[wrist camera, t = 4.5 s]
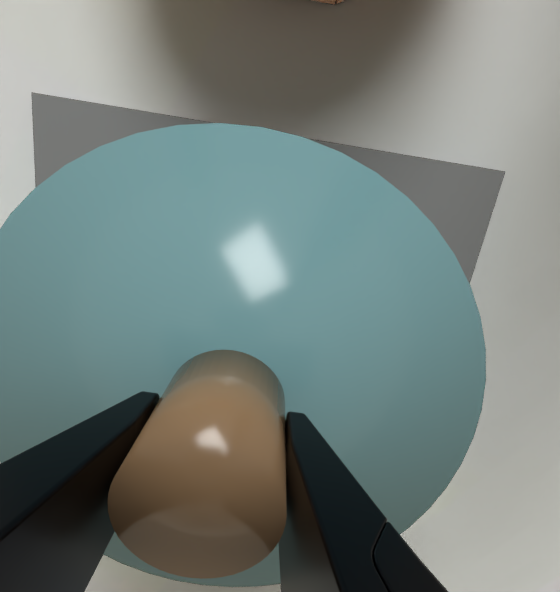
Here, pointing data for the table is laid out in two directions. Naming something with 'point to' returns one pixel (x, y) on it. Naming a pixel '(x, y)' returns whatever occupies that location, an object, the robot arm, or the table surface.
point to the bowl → (330, 1)
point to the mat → (391, 166)
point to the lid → (236, 336)
